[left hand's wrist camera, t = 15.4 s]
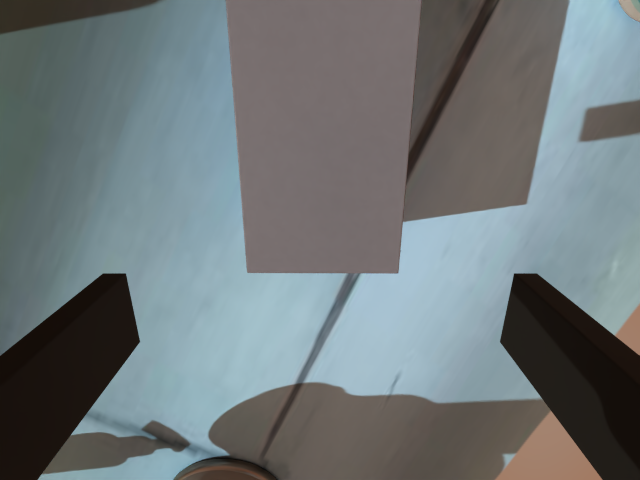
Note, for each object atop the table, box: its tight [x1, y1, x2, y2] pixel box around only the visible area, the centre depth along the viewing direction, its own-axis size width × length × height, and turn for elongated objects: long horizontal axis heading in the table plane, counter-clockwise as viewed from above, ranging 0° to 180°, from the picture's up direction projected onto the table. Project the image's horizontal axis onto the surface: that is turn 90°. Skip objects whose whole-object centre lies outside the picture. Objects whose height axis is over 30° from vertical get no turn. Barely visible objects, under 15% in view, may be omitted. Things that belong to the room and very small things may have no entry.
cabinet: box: [226, 0, 422, 273], centre depth 27 cm, size 16×10×10 cm, turn 0°
